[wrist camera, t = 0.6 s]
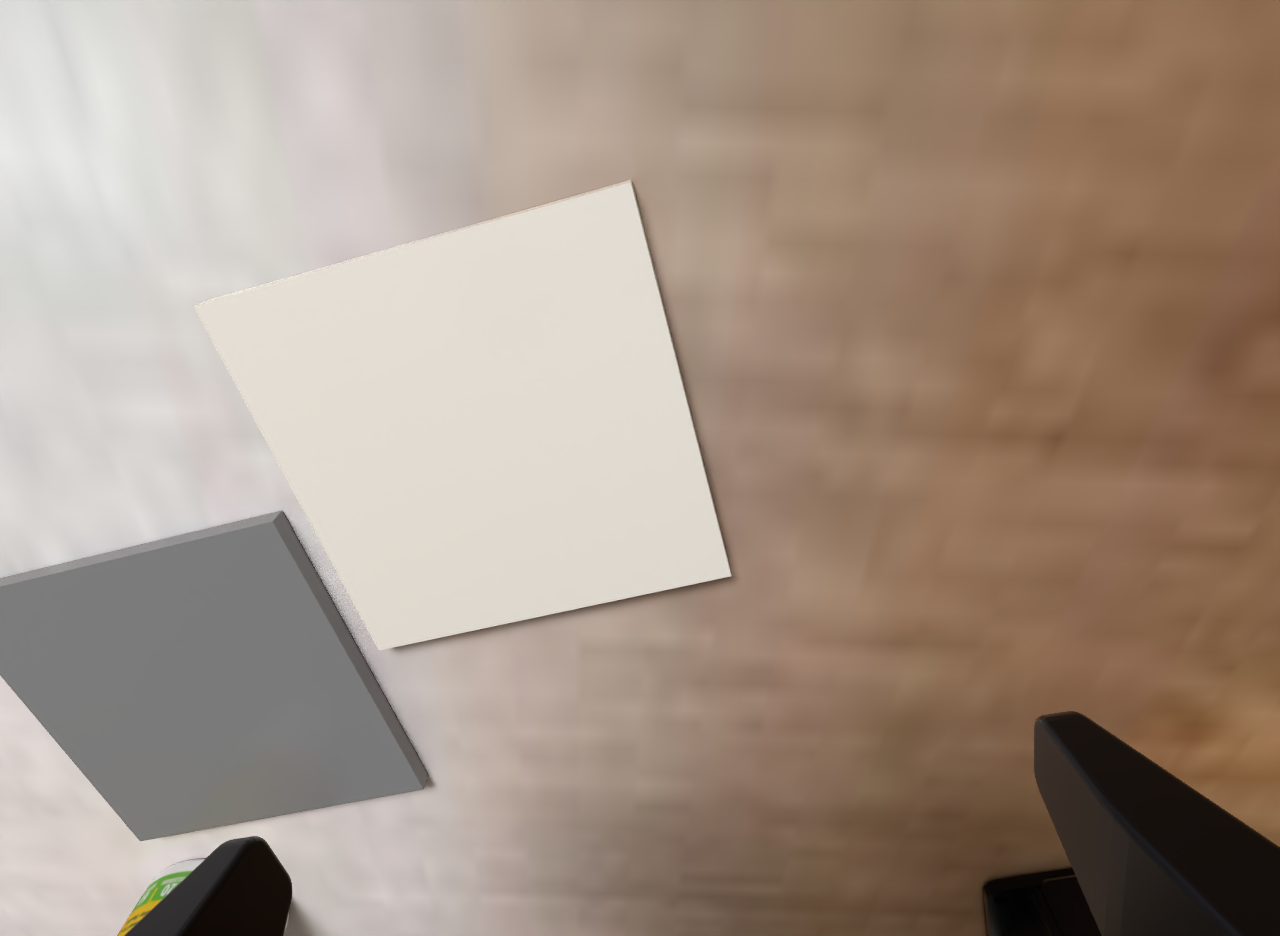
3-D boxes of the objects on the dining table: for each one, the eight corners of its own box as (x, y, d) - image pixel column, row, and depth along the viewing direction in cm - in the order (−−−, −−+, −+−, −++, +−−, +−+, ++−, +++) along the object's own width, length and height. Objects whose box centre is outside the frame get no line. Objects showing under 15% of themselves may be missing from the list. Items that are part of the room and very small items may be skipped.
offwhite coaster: (729, 564, 22) (731, 576, 21) (384, 637, 23) (378, 650, 23) (631, 179, 17) (631, 182, 17) (206, 300, 19) (193, 306, 18)
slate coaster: (427, 774, 26) (423, 789, 26) (150, 826, 27) (140, 841, 27) (281, 510, 21) (272, 521, 21) (-46, 589, 23) (-62, 601, 22)
